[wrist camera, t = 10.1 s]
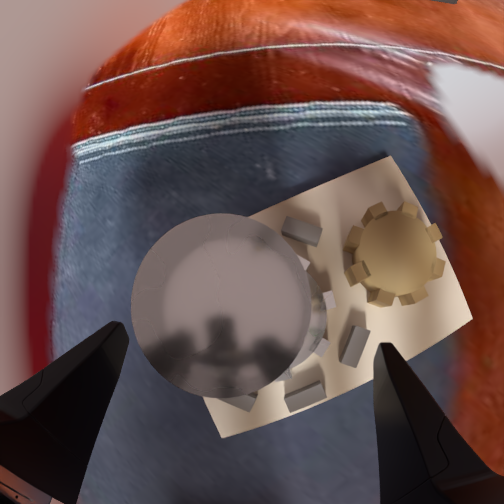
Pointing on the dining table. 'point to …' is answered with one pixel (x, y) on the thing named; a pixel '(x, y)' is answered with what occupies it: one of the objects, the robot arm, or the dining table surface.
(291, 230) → the carrier plate
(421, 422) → the robot arm
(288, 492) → the dining table surface
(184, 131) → the dining table surface
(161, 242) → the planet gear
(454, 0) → the lantern
